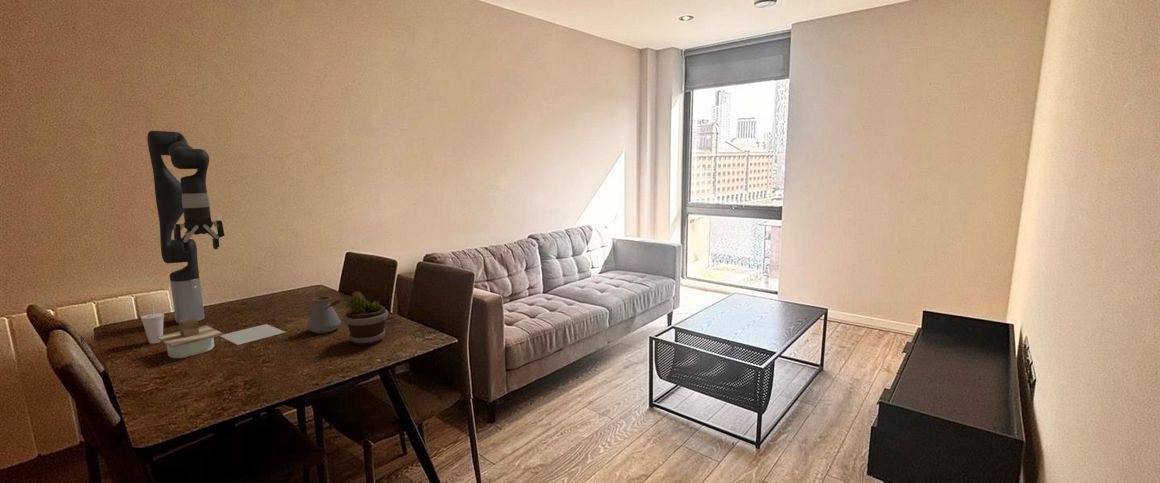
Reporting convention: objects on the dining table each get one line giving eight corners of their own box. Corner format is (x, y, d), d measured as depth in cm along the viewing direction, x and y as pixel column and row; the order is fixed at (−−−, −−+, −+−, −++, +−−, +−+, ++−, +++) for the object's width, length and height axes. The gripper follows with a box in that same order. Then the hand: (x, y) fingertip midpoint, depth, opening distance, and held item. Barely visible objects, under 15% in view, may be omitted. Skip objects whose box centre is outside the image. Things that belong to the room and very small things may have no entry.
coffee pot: (302, 331, 186) (299, 293, 184) (333, 324, 195) (330, 287, 192) (326, 345, 172) (322, 304, 170) (358, 336, 181) (355, 297, 179)
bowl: (163, 352, 165) (161, 338, 164) (205, 342, 175) (204, 328, 174) (176, 360, 158) (174, 346, 158) (219, 349, 168) (217, 335, 167)
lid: (157, 338, 164) (154, 322, 163) (206, 327, 176) (204, 311, 175) (172, 347, 156) (169, 330, 155) (222, 335, 168) (220, 318, 167)
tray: (219, 336, 180) (219, 335, 180) (266, 325, 193) (266, 324, 193) (238, 345, 171) (237, 344, 171) (286, 333, 184) (286, 332, 184)
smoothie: (154, 345, 171) (148, 307, 169) (139, 344, 173) (133, 306, 170) (172, 339, 178) (167, 302, 175) (158, 337, 179) (152, 300, 177)
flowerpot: (371, 331, 187) (368, 280, 184) (398, 338, 179) (395, 285, 176) (336, 343, 174) (331, 288, 171) (363, 351, 167) (359, 294, 164)
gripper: (215, 203, 182) (220, 246, 184) (167, 206, 170) (173, 252, 173) (223, 205, 177) (228, 249, 180) (175, 208, 166) (181, 255, 168)
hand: (201, 250), depth 176 cm, fingers open, 8 cm apart
